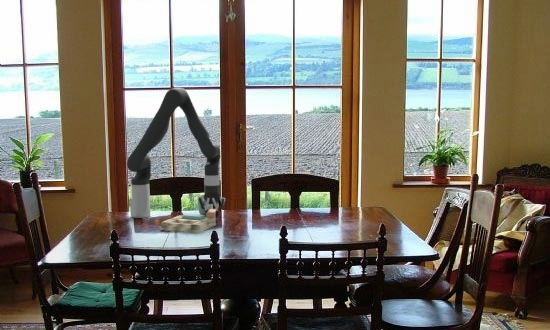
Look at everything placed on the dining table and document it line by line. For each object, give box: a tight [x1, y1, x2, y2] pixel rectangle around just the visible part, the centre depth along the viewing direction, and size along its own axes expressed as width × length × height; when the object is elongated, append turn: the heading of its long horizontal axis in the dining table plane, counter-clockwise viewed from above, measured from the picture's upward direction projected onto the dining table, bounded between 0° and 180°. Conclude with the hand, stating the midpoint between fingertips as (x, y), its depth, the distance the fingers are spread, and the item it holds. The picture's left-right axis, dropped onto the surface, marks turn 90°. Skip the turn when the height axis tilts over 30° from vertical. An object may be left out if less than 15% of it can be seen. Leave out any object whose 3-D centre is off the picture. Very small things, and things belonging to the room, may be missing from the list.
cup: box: [197, 194, 214, 216], centre depth 291 cm, size 8×8×10 cm
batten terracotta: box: [205, 208, 218, 220], centre depth 273 cm, size 10×4×4 cm, turn 176°
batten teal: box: [181, 213, 205, 220], centre depth 265 cm, size 10×4×4 cm, turn 66°
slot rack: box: [160, 214, 217, 234], centre depth 261 cm, size 20×17×4 cm
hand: (212, 217), depth 274 cm, fingers closed on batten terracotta, 4 cm apart
